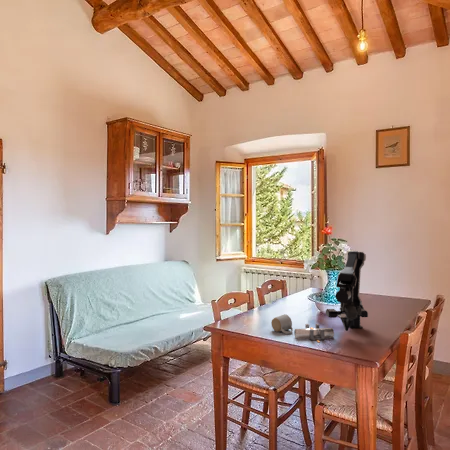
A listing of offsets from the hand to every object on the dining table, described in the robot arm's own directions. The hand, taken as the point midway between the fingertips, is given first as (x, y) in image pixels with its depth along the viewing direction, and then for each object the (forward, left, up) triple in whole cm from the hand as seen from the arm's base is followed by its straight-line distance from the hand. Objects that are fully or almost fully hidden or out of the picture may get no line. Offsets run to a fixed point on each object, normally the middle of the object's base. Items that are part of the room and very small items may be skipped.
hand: (346, 330), depth 178 cm
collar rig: (0, -15, -3) cm, 16 cm away
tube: (0, -16, -3) cm, 16 cm away
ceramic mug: (-10, -29, -3) cm, 30 cm away
